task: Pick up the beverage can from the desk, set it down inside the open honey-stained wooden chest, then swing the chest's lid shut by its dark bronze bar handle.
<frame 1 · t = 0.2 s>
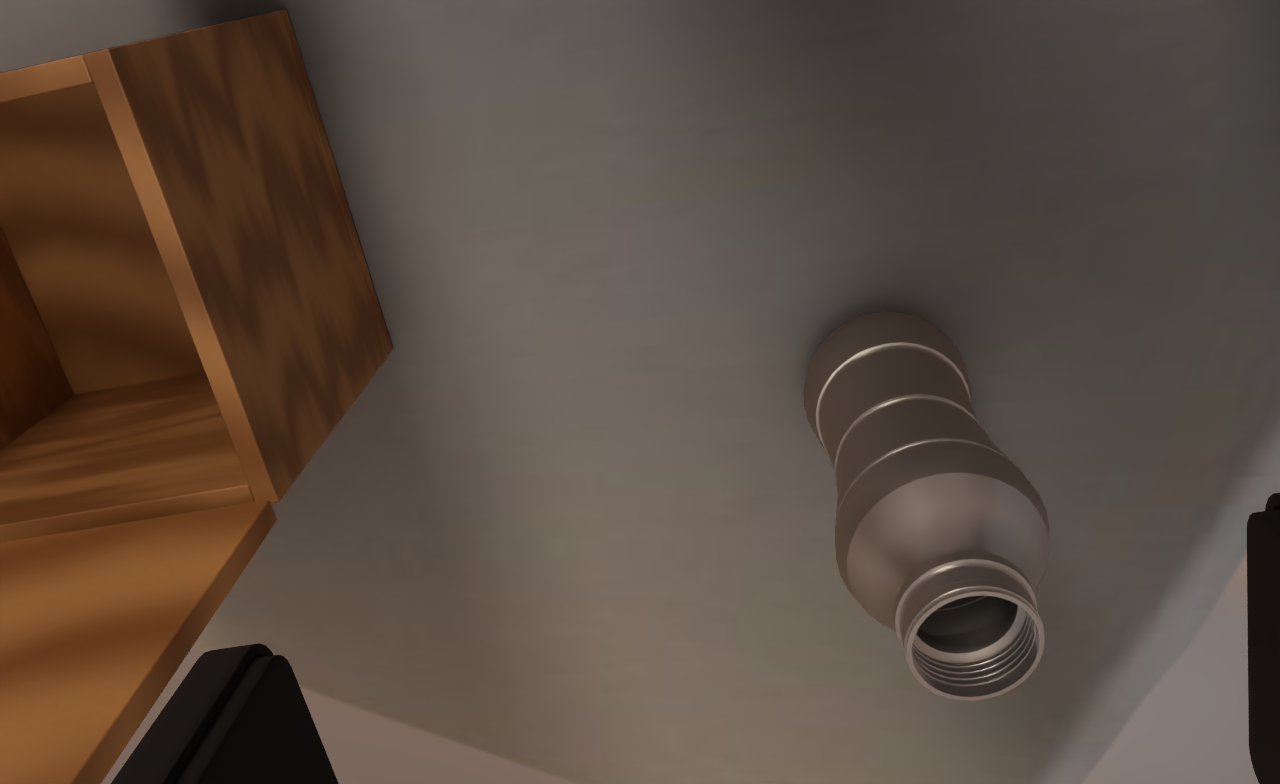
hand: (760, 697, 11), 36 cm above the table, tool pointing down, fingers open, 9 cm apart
chest: (172, 223, 48), on the table
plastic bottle: (876, 366, 48), on the table
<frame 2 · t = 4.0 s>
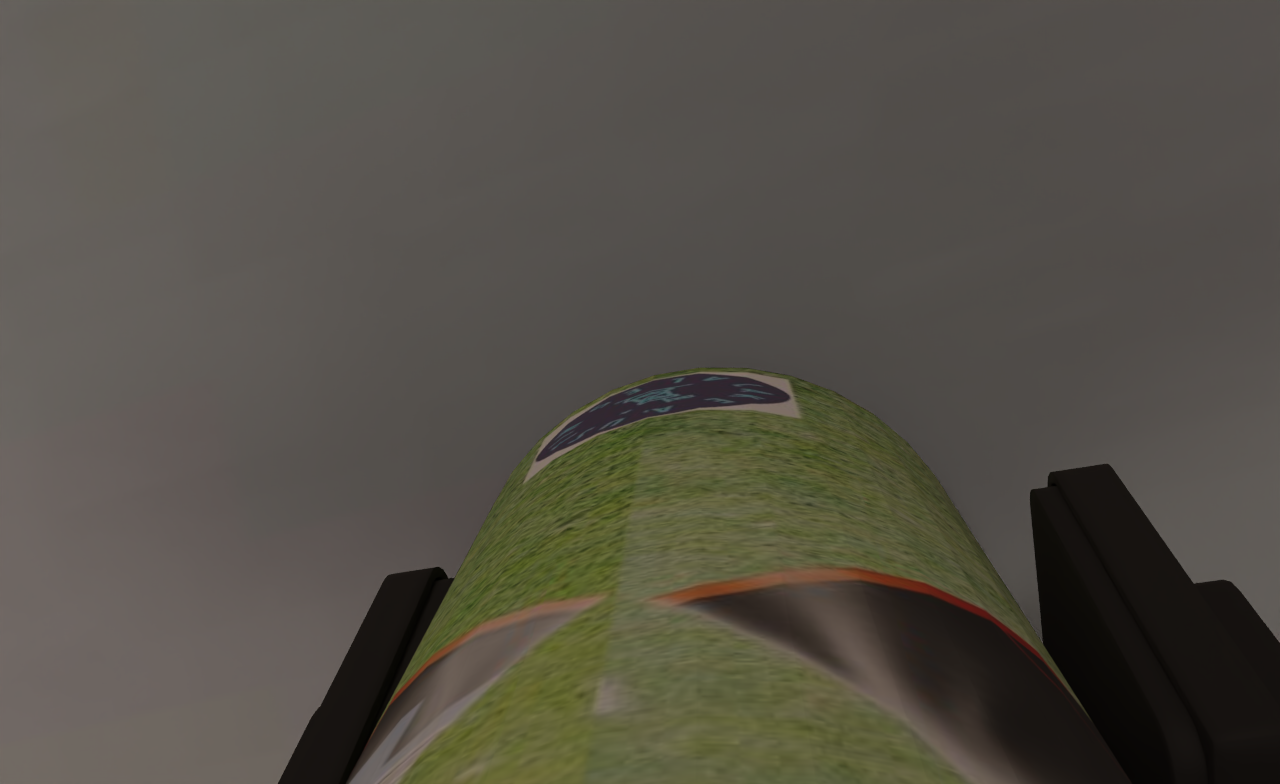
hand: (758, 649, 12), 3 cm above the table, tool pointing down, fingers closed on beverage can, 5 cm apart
beverage can: (726, 505, 14), on the table, touching gripper
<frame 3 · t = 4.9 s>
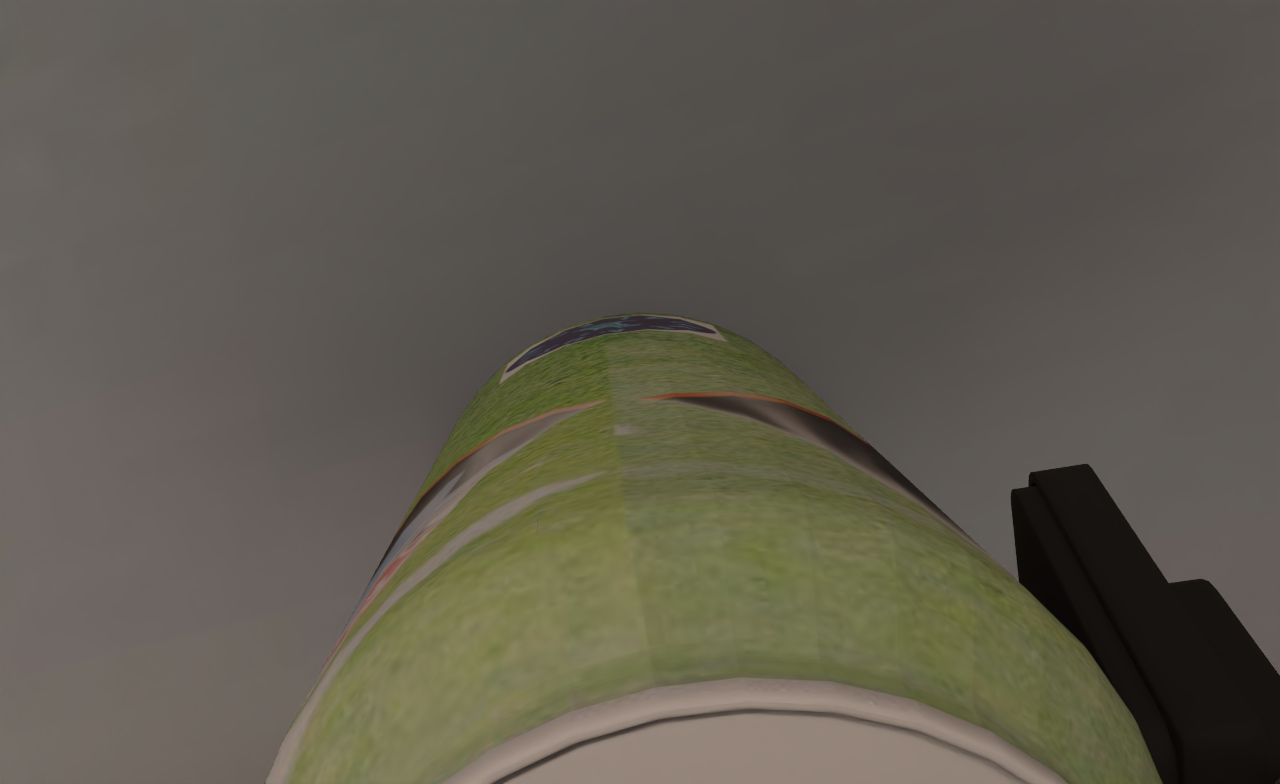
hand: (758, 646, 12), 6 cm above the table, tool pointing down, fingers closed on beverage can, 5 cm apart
beverage can: (650, 441, 17), on the table, touching gripper
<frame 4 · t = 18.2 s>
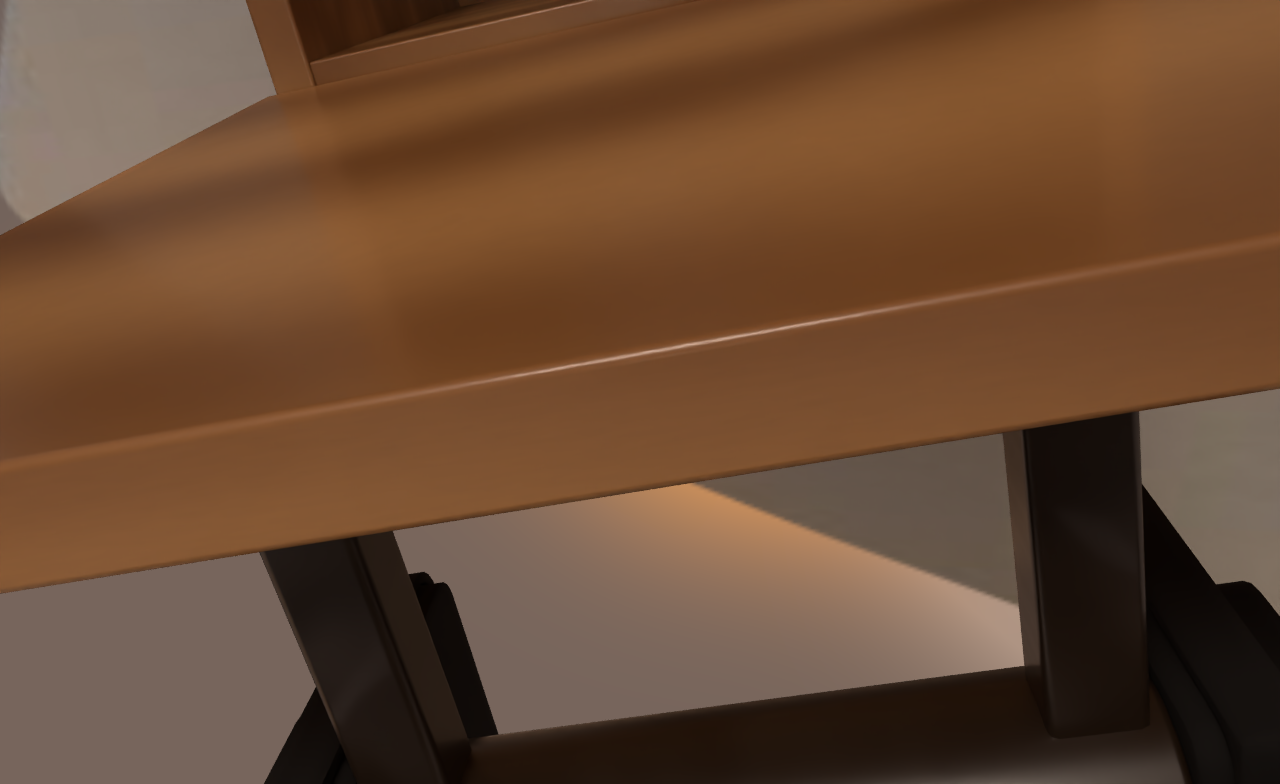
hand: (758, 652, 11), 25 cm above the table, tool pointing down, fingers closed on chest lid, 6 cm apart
chest lid: (714, 320, 14), point 22 cm above the table, hinge at 92.0°, touching gripper
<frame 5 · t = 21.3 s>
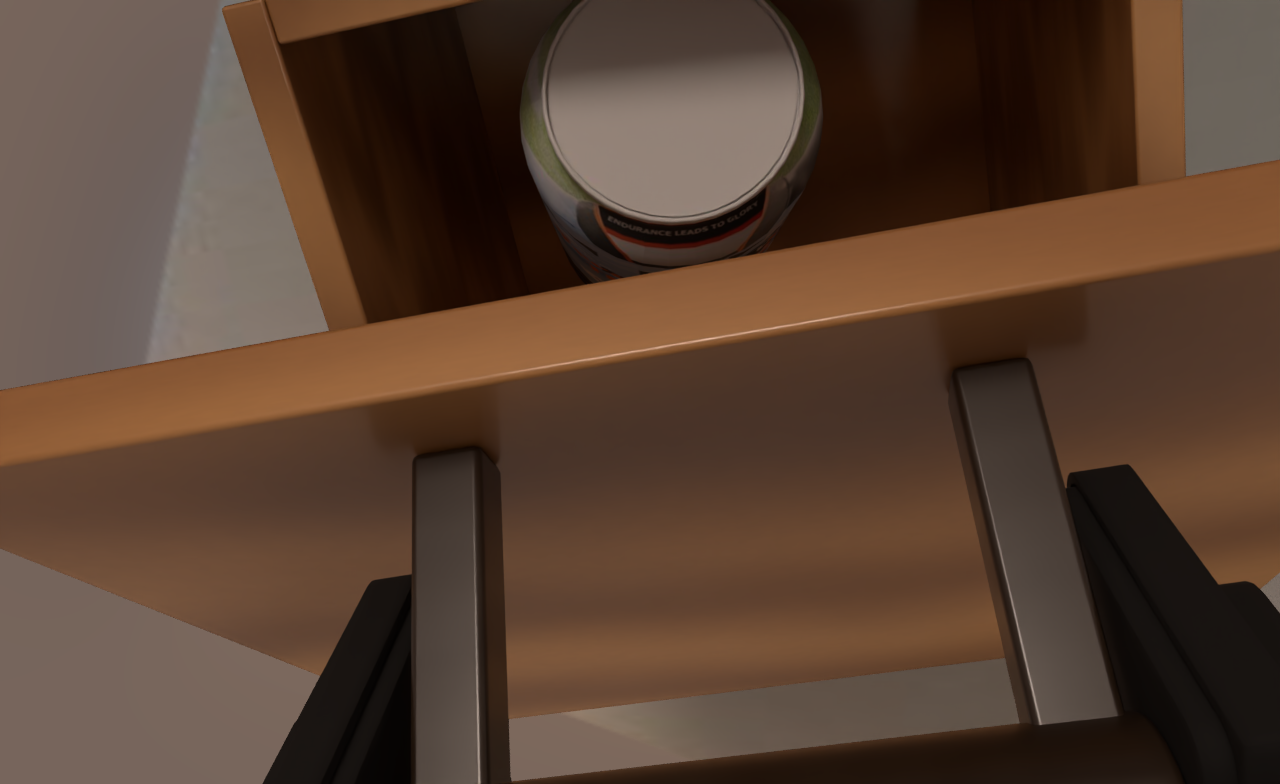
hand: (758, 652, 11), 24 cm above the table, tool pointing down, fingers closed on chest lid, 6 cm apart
chest: (738, 165, 33), on the table
beverage can: (670, 190, 33), point 1 cm above the table, touching chest
chest lid: (795, 739, 15), point 21 cm above the table, hinge at 41.7°, touching gripper
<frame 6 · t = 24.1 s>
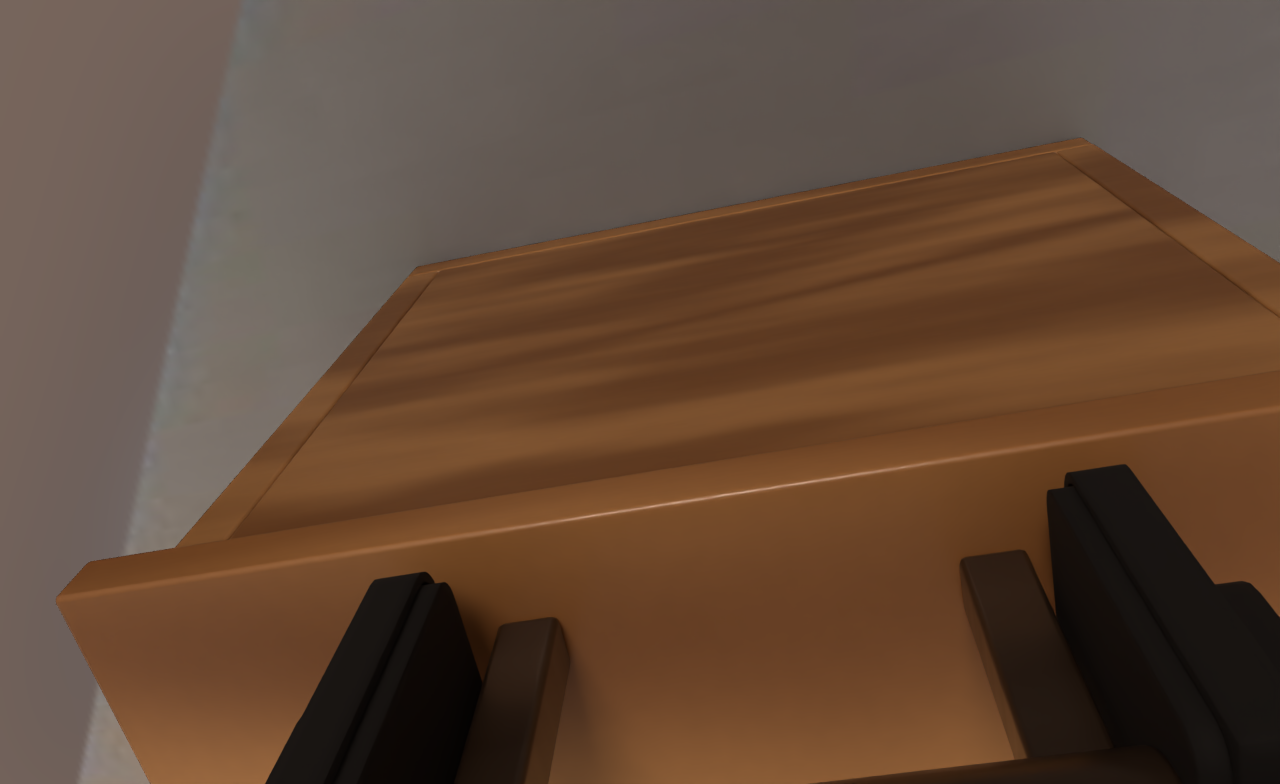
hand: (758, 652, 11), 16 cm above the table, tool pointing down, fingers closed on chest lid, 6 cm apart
chest: (785, 480, 28), on the table
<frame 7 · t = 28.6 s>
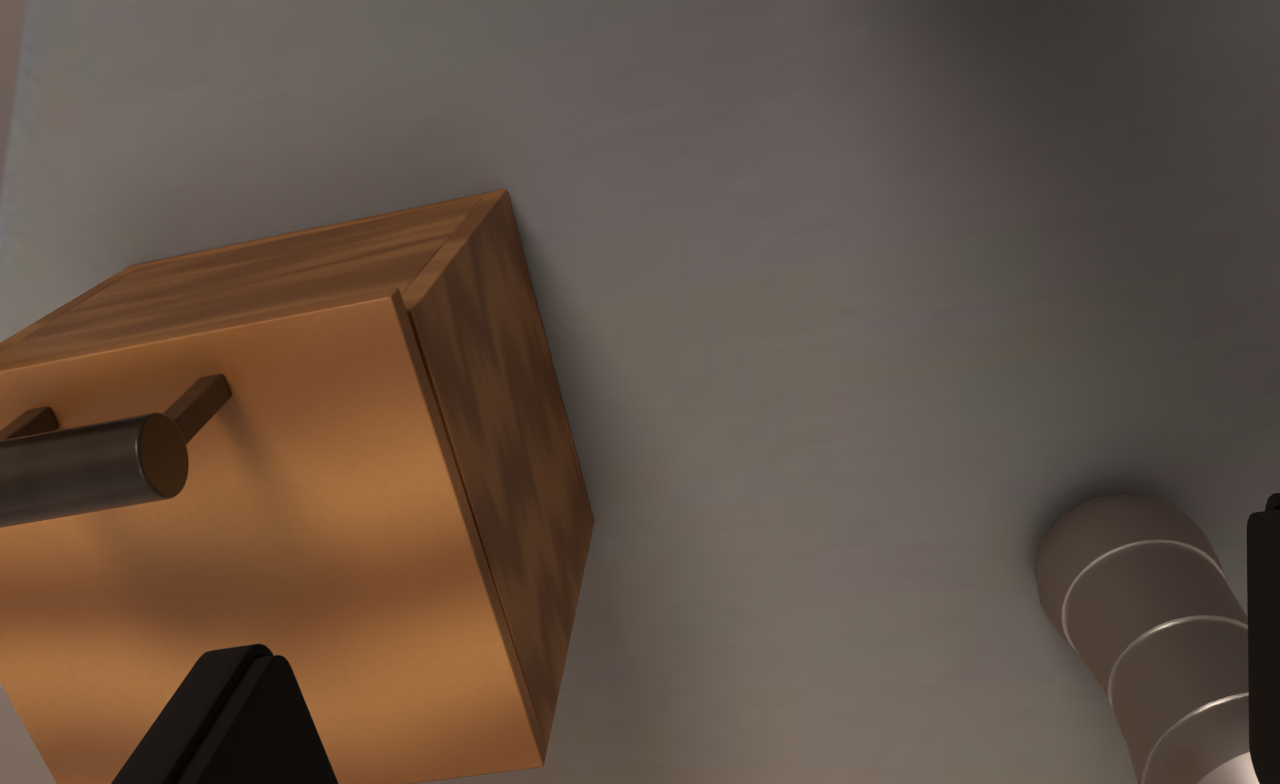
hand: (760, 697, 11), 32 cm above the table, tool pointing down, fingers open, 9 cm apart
chest: (370, 398, 46), on the table
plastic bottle: (1103, 541, 46), on the table
chest lid: (182, 641, 30), point 17 cm above the table, hinge at 1.4°
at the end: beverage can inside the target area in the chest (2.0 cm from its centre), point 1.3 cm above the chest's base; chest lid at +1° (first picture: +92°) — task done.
